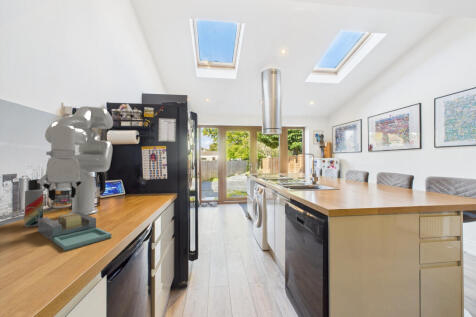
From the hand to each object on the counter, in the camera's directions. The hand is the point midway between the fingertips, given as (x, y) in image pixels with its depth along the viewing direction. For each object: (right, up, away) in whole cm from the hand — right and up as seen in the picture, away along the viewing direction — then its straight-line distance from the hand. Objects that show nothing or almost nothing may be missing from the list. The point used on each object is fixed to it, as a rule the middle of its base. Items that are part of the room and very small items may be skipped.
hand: (62, 198), depth 82 cm
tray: (+18, -12, -12) cm, 25 cm away
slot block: (+4, -13, -3) cm, 14 cm away
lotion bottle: (-16, -13, +4) cm, 21 cm away
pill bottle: (0, -4, 0) cm, 4 cm away
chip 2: (+9, -9, -6) cm, 14 cm away
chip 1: (+5, -9, -3) cm, 11 cm away
